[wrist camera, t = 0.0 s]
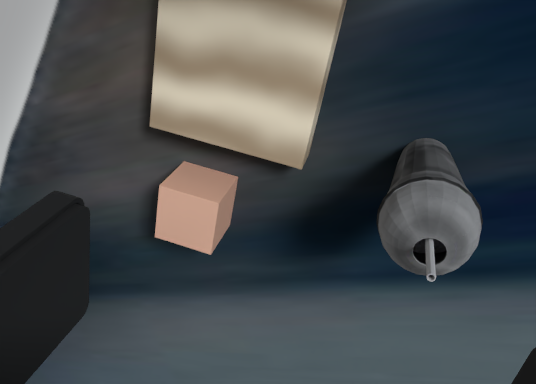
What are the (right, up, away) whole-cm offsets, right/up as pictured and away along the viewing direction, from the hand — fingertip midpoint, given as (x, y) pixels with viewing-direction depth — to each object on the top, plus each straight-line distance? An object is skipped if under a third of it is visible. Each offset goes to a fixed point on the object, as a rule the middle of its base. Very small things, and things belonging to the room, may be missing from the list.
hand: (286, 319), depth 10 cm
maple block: (-2, +15, +36) cm, 39 cm away
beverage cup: (+14, +6, +36) cm, 39 cm away
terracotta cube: (-7, +2, +43) cm, 44 cm away
